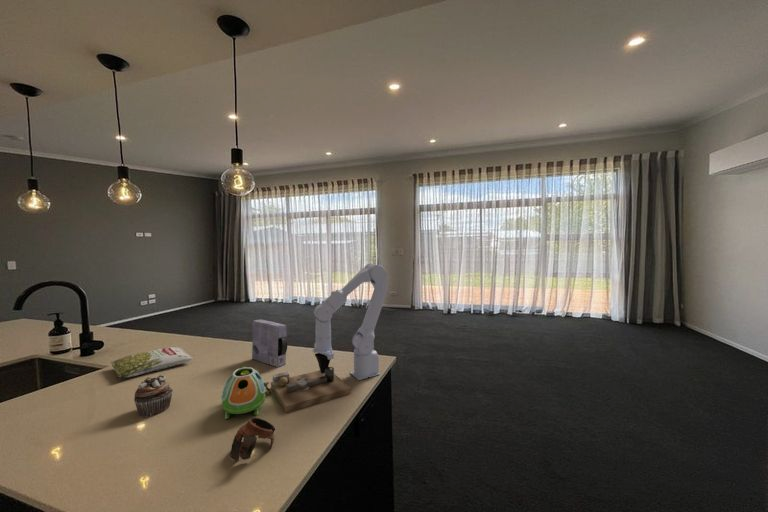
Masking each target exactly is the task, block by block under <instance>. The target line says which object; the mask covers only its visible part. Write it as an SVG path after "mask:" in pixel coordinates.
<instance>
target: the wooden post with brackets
mask: <svg viewBox="0 0 768 512" xmlns="http://www.w3.org/2000/svg"><path fill="white" fill-rule="evenodd" d="M269 384H270V383H269V381H267V382H264V386H265V396H266V394H267V393H268V394H272V392H271V390H270V388H269V387H268V385H269Z"/></svg>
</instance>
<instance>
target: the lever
mask: <svg viewBox="0 0 768 512" xmlns="http://www.w3.org/2000/svg"><path fill="white" fill-rule="evenodd" d="M334 374H335V368H334V366H328V367H327V368H325V376H323V377H319V378H315V379H311V380H308V379H307V378H306V377H301V378H298V379H297V382H295V383H291V384H287V391H288V392H292V391H296V390H303V389H306V388H307V387H310V386H314V385H317V384H321V383H325V382H332V381H334Z"/></svg>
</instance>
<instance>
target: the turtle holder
mask: <svg viewBox="0 0 768 512" xmlns="http://www.w3.org/2000/svg"><path fill="white" fill-rule="evenodd" d="M264 383H265V382H264V380H263V377H262V376H261V374H260V373H259V371H258V370H256V369H254V368H253V367H250V366H249V367H247V366H242V367H241V368H237V369H235V370H234V371H233V372H232V374H231V375H230V376H229V378H228V379H227V381H226V382H225V385H224V387H223V390H222V395H221V401H222V402H221V407H222V409H223V411H224V412H225V415H224V419H225V420H228V419H230V418H231V414H232V415H240V414H247V413H250V412H252V411H253V415H254V416H258V415H259V414H260V406H262V404H263V403H264V402H265V401H266V397H267V396H266V395H265V392H266V389H265V388H266V387H265V386H264Z"/></svg>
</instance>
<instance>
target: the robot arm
mask: <svg viewBox="0 0 768 512" xmlns="http://www.w3.org/2000/svg"><path fill="white" fill-rule="evenodd" d="M388 281H389V280H388V272H387V270H386V268H385V267H384V266H383V265H382V264H375V263H367V264H366V265H365V266H364V267H363V268H360V270H359V271H358V272H357V273H356V274H355V275H354V276H353V277H352V278H351V279H350V280H349V281H348V282H347V283H346V284H345V285H344V286H343V287H342V288H341V289H336V290H335V291H334V290H332V291H331V292H330V295H329V296H328V297H327V298H326V299H325V300H322V301H321V304H317V306H315V308H314V311H313V315H314V317H315V326H314V327H315V333H314V334H315V342H314V344H313V345H314V349H312V353H314V357H315V358H316V360H317V364H318V367H319V370H320V372H321V373H322V374H323V373H325V368H327V367H330V362H331V360H333V359H334V357H335V355H334V354H335V353H334V352H333V348H332V324H331V319H332V318H333V314H334V313H335V312H337V310H338V309H340V308H341V307H342V306H344V304H346V303H345V302H347V298H348V296H349V295H350V294H351V293H352V292H353V291H355V290H356V289H357V288H359V286H360V285H362V284H363V283H369V282H370V284H371V285H372V286H373V292H372V295H371V298H370V300H369V303H368V307H367V308H366V312H365V315H364V318H363V319H362V320H363V321H362V322H361V326H360V327H358V329H357V331H356V333H355V334H353V336H352V338H351V341H352V342H351V343H352V346H353V347H354V349H353V370H352V371H350V372H349V374H350V375H351V376H352V377H354V378H355V379H357V380H358V381H361V380H364V379H368V377H369V378H372V377H376V376H378V375H381V373H380V372H379V371H380V367H379V366H380V365H379V363H380V362H379V361H380V360H379V354H378V352H377V350H375V349H374V348H375V343H374V341H375V338H376V337H375V336H376V335H375V329H376V326H377V322H378V320H379V317H380V314H381V311H382V308H383V304H384V302H385V300H386V296H387V294H388V291H389V283H388Z"/></svg>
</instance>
